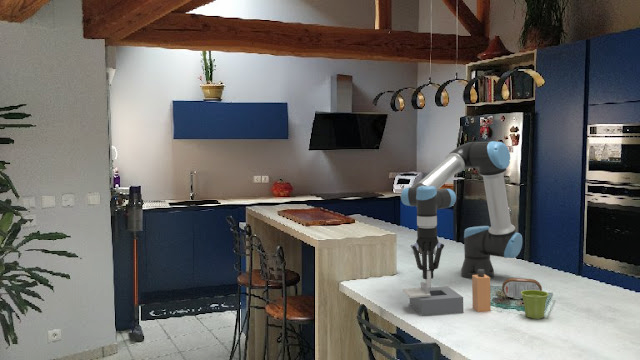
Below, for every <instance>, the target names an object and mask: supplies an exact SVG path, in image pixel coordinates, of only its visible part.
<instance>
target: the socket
mask: <svg viewBox="0 0 640 360" xmlns="http://www.w3.org/2000/svg"><path fill="white" fill-rule="evenodd" d="M430 294H431V296H430V297H417V298H410V297H409V305H410V306H411V307H413V309H415V311H416V312H418V314H419V315H421V317H428V316H430V317H431V316H440V315H442V316H443V315H452V314H453V315H454V314H455V315H456V314H464V296H462V295H461V294H460V293H458V292H456V290H454V289H452V288H451V287H450V286H449V285H448V286H447V285H446V286H435V287H434V286H433V287H432V286H431V288H430Z"/></svg>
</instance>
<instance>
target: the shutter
mask: <svg viewBox="0 0 640 360" xmlns="http://www.w3.org/2000/svg"><path fill="white" fill-rule="evenodd" d="M402 292H403V293H405V294H406V295H407V297H409V299H410V298H417V297H430V296H431V294H430V287H429V286H428V285H426V284H425V282H423V281H421V282H420V287H411V288H410V287H409V288H402Z"/></svg>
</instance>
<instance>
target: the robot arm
mask: <svg viewBox="0 0 640 360" xmlns="http://www.w3.org/2000/svg"><path fill="white" fill-rule="evenodd" d="M510 160H511V153H510V150H509V148H508V147H507V145H506V144H505V143H504V142H502V141H492V140H491V141H471V142H467V143H464V144H461V145H459V146H457V147H456V148H455V149H453V150H452V151H450V152H449V153H448V154H447V155H446V156H445V159H444V160H443V161H442V162H441V163H440V164H438V166H436V167H435V168H434V169H433V170H431V172H430V173H428V174H427V175H426V176H424V177H423V178H422V179H421V180H420V181H418V182H417V183H416V185H414V186H413V187H410V186H409V187H405V188H403V189H402V191H401V193H400V200H401V203H402V204H403V205H405V206H407V207H409V206H410V207H416V226H417V227H416V236H417V237H416V238H417V239H416V242H414V244H411V245H410V248H411V250H412V251H413V255H414V259H415V262H416V263H415V264H416V266H417V269H419V270H421V271H422V279H423V280H424V281H425V282H424V283H425V284H426V285H428V286H429V287H430V288H431V287H432V279H433V280H434V271H435V270H437V269H438V268H439V264H440V260H441V256H442V255H441V254H442V252H443V250H444V247H445V244H444V243H442V242H440V241H439V239H438V227H437V226H438V216H437V215H438V213H437V211H438V210H442V209H449V208H451V207H453V206H454V205H455V203H456V201H457V195H456V192H455V191H454V190H453V189H451V188H441V187H442V186H444V185H445V184H446V183H447V182H448V181H449V180H450V179H451V178H453V177H454V176H455V175H456V174H457V173H461V172H463V171H464V170H466V169H477V171H478V175H479V176H481V177H482V178H483V183H484V191H485V196H486V203H487V209H488V214H489V221H490V226H489V225H480V226H472V227H471V226H470V227H467V228H465V229H464V231H463V232H464V233H463V242H464V243H463V244H464V246H463V247H464V249H463V250H464V260H463V262H462V263H463V264H462V266H461V270H460V276H462V277H464V278H467V279H472V275H478V269H484V274H485V275H487V276H489V277H490V279H492V278H494V277H495V270H494V266H493V263H492V261H491V256H492V257H500V258H503V259H507V258H508V259H515V258H517V256H518V255H519V254H520V252H521V249H522V247H523V236H522V234H521V233H519V232H517V231H516V226H515V225H513V224H512V221H511V215H510V209H509V202H508V197H507V189H506V183H505V182H506V181H505V176H504V174H505V173H506V172H507V168H508V167H509V165H510V164H511V161H510ZM418 246H419V247H420V249H421V252H422V255H419V252H418ZM434 248H436V253H435V254H434V255H433V253H434ZM427 251H428V256H427ZM420 256H421V257H420Z"/></svg>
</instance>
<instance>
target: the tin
mask: <svg viewBox="0 0 640 360" xmlns="http://www.w3.org/2000/svg"><path fill="white" fill-rule="evenodd" d="M501 288H502V293H503V295H504V296H505V297H506V298H508V297H514V298H522V294H521V292H522V291H525V290H539V291H543V288H542V285H541V283H540V282H539V281H538V280H537V279H533V278H524V277H523V278H521V277H520V278H519V277H510V278H507V279H505V280H504V281H503V282H502V286H501Z"/></svg>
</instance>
